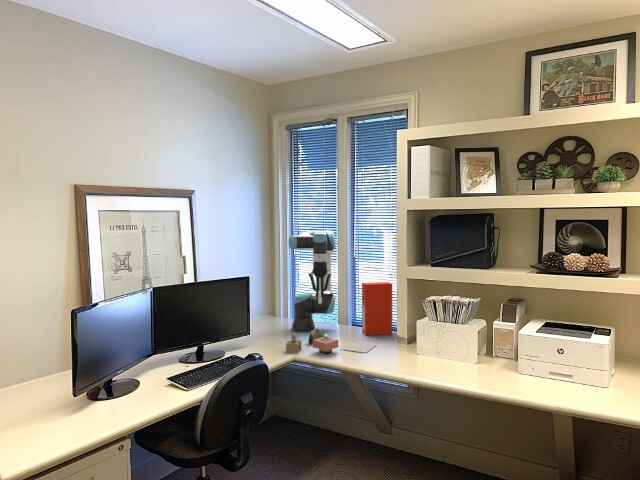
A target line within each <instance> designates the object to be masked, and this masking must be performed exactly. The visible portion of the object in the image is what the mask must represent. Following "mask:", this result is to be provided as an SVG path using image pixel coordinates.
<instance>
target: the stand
mask: <svg viewBox="0 0 640 480" xmlns="http://www.w3.org/2000/svg"><path fill="white" fill-rule="evenodd" d="M301 350H302V340H299V339H298V340H297V332H296V333H295V332H292V333H291V339H289V340H288V341H287V342H286V343H285V352H286V353H291V354H299V353H300V352H301Z"/></svg>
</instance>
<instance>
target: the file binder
mask: <svg viewBox="0 0 640 480" xmlns="http://www.w3.org/2000/svg"><path fill="white" fill-rule="evenodd" d="M361 333H362V334H363V333H364V334H365V335H367V336H374V335H373V334H384V335H392V334H393V283H392V282H388V281H385V282H384V281H382V282H362V283H361ZM391 333H392V334H391ZM364 334H363V335H364ZM365 335H364V336H365Z"/></svg>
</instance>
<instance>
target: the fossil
mask: <svg viewBox="0 0 640 480" xmlns="http://www.w3.org/2000/svg"><path fill="white" fill-rule="evenodd" d="M322 337H324V334H323V332H322V331H320V329H319V328H315V329H314V330H312V331H310V333H309V335H308V345H311V344H312V345H313V340H315V339H318V338H322Z"/></svg>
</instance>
